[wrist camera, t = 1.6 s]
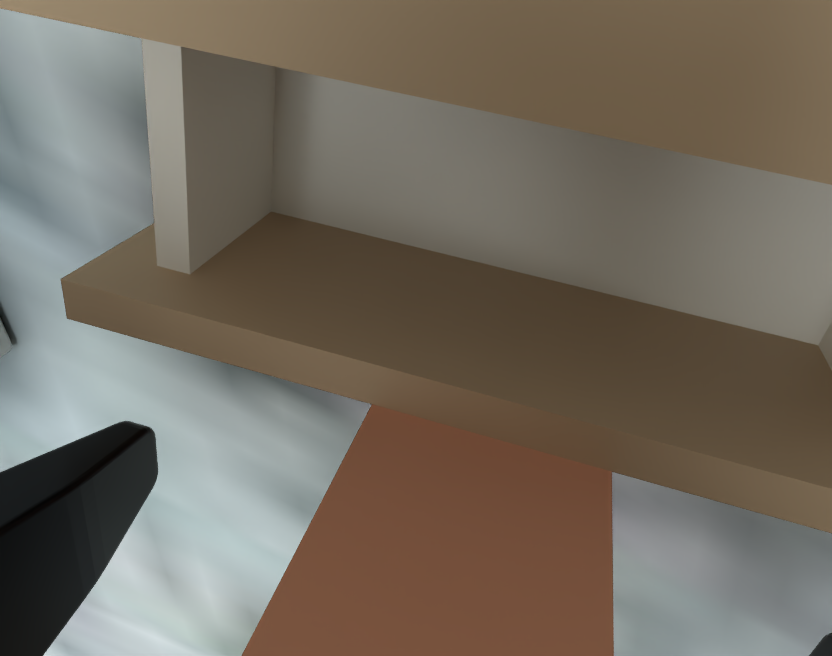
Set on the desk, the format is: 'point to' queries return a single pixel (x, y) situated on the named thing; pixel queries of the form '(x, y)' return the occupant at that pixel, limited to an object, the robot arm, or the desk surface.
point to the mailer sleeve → (542, 61)
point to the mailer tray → (478, 340)
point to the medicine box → (4, 341)
